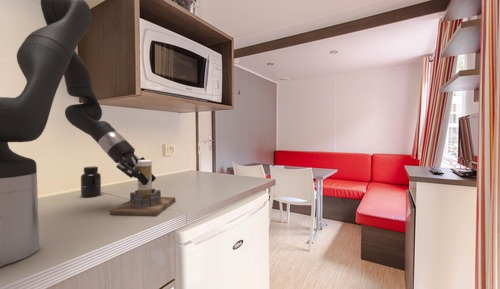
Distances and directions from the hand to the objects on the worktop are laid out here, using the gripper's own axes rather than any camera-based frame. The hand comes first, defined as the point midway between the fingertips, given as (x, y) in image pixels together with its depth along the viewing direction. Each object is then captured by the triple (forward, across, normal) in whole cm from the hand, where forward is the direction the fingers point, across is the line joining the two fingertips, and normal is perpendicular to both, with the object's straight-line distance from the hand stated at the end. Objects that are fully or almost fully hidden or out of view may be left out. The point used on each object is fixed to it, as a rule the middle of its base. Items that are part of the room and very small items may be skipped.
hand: (150, 181), depth 77 cm
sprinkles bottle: (+3, 0, +6) cm, 6 cm away
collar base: (+5, 0, +8) cm, 9 cm away
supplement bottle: (-16, +13, +30) cm, 36 cm away
